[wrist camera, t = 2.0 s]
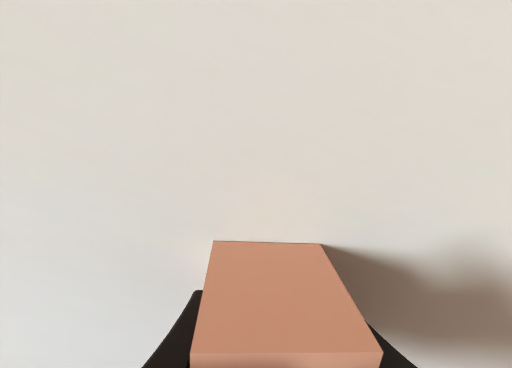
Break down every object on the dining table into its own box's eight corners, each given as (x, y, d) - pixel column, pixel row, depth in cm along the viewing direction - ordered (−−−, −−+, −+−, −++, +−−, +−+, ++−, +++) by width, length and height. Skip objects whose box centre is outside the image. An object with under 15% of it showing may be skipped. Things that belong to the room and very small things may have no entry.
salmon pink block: (306, 326, 13) (348, 467, 8) (211, 326, 13) (191, 474, 8) (319, 244, 12) (383, 352, 7) (213, 240, 11) (190, 353, 6)
